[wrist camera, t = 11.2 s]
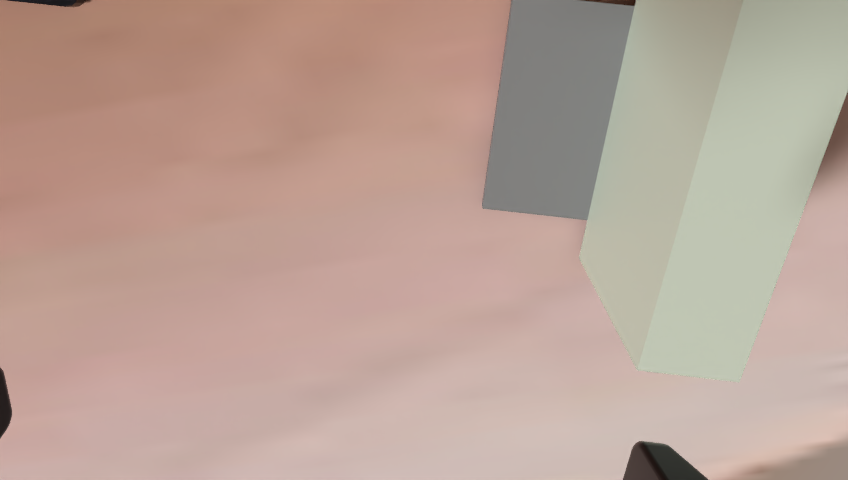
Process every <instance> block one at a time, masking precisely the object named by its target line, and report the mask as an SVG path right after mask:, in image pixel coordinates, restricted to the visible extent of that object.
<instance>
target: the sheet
mask: <svg viewBox="0 0 848 480" xmlns="http://www.w3.org/2000/svg"><path fill="white" fill-rule="evenodd" d="M847 92H848V0H636V2H635V7H634V11H633V16H632V20H631V25H630V29H629V34H628V39H627V43H626V48H625V52H624V57H623V61H622V66H621V70H620V75H619V79H618V84H617V88H616V93H615V97H614V102H613V106H612V111H611V115H610V120H609V124H608V129H607V133H606V138H605V143H604V147H603V152H602V156H601V161H600V165H599V170H598V174H597V179H596V183H595V188H594V192H593V197H592V201H591V206H590V210H589V215H588V219H587V224H586V228H585V233H584V237H583V242H582V246H581V251H580V256H579V259H580V261H581V263H582V265H583V267H584V269H585V271H586V272H587V274H588V276H589V278H590V280H591V282H592V284H593V286H594V288H595V290H596V292H597V294H598V296H599V298H600V300H601V302H602V303H603V305H604V307H605V309H606V311H607V313H608V315H609V317H610V319H611V321H612V323H613V325H614V327H615V329H616V331H617V333H618V334H619V336H620V338H621V340H622V342H623V344H624V346H625V348H626V350H627V352H628V354H629V356H630V358H631V360H632V362H633V364H634V365H635V367H636V369H637V370H638V371H646V372H655V373H664V374H672V375H681V376H689V377H698V378H706V379H715V380H723V381H732V382H740V379H741V377H742V374H743V371H744V369H745V366H746V363H747V361H748V358H749V355H750V352H751V350H752V347H753V344H754V342H755V339H756V336H757V334H758V331H759V328H760V326H761V323H762V320H763V318H764V315H765V312H766V309H767V307H768V304H769V301H770V299H771V296H772V293H773V291H774V288H775V285H776V283H777V280H778V277H779V275H780V272H781V269H782V267H783V264H784V261H785V258H786V256H787V253H788V250H789V248H790V245H791V242H792V240H793V237H794V234H795V232H796V229H797V226H798V224H799V221H800V218H801V215H802V213H803V210H804V207H805V205H806V202H807V199H808V197H809V194H810V191H811V189H812V186H813V183H814V181H815V178H816V175H817V172H818V170H819V167H820V164H821V162H822V159H823V156H824V154H825V151H826V148H827V146H828V143H829V140H830V138H831V135H832V132H833V130H834V127H835V124H836V121H837V119H838V116H839V113H840V111H841V108H842V105H843V103H844V100H845V97H846V95H847Z"/></svg>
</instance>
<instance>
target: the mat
mask: <svg viewBox="0 0 848 480" xmlns="http://www.w3.org/2000/svg"><path fill="white" fill-rule="evenodd" d="M634 7H635V6H629V5H619V4H609V3H600V2H590V1H581V0H512V1H511V8H510V15H509V22H508V29H507V35H506V42H505V49H504V56H503V63H502V70H501V77H500V84H499V91H498V98H497V105H496V112H495V119H494V126H493V133H492V140H491V147H490V154H489V161H488V168H487V175H486V181H485V188H484V195H483V202H482V206H483V209H492V210H501V211H510V212H519V213H528V214H537V215H546V216H555V217H564V218H573V219H581V220H587V219H588V215H589V210H590V206H591V201H592V197H593V192H594V188H595V183H596V179H597V174H598V170H599V165H600V161H601V156H602V152H603V147H604V143H605V138H606V133H607V129H608V124H609V120H610V115H611V111H612V106H613V102H614V97H615V93H616V88H617V84H618V79H619V75H620V70H621V66H622V61H623V57H624V52H625V48H626V43H627V39H628V34H629V29H630V25H631V20H632V16H633V11H634Z"/></svg>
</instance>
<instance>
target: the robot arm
mask: <svg viewBox="0 0 848 480" xmlns="http://www.w3.org/2000/svg"><path fill="white" fill-rule="evenodd" d="M9 1H18V2H28V3H37V4H46V5H56V6H65V7H77V6H80V5H82V4H83V3H84V1H85V0H9ZM11 417H12V408H11V403H10V399H9V394H8V389H7V385H6V380H5V376H4V372H3V370H2V369H1V368H0V438H1V437H2V435H3V434H4V432H5V431H6V429H7V428H8V426H9V424H10V421H11ZM623 480H708V479H707V478H706V477H705V476H704V475H702V474H701V473H700V472H699V471H698V470H697V469H695V468H694V467H693V466H692V465H691V464H690V463H688V462H687V461H686V460H685V459H684V458H683V457H681V456H680V455H679V454H678V453H677V452H676V451H674V450H673V449H672V448H671V447H669V446H668V445H666V444H662V443H653V442H645V441H639V442H637V443H636V444H635V445H634V446H633V449H632V451H631V454H630V458H629V461H628V464H627V468H626V471H625V474H624V478H623Z"/></svg>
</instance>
